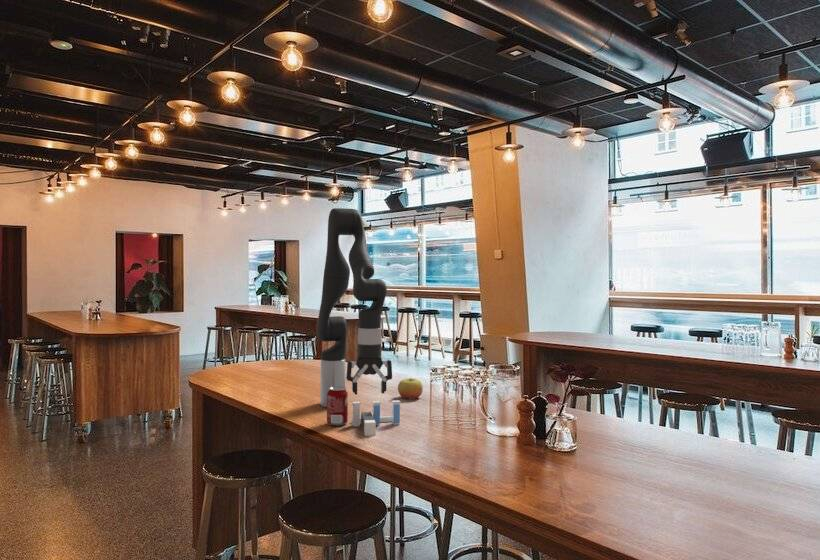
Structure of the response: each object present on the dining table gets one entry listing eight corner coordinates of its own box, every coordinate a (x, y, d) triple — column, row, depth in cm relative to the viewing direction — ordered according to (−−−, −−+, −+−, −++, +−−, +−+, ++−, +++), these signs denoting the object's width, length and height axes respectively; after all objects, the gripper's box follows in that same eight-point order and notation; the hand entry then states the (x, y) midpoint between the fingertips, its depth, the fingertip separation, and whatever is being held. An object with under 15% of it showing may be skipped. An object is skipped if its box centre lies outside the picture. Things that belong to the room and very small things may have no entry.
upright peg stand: (351, 422, 188) (351, 399, 188) (397, 420, 191) (397, 398, 191) (352, 426, 183) (353, 403, 183) (400, 424, 186) (400, 401, 186)
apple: (408, 402, 218) (409, 381, 218) (392, 397, 225) (393, 377, 225) (427, 398, 224) (427, 378, 224) (411, 394, 232) (411, 374, 231)
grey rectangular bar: (361, 424, 187) (361, 412, 186) (370, 423, 187) (370, 411, 187) (365, 435, 174) (365, 422, 174) (375, 435, 174) (375, 422, 174)
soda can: (343, 427, 182) (344, 390, 182) (323, 426, 184) (324, 389, 183) (350, 421, 189) (350, 386, 189) (330, 420, 190) (331, 385, 190)
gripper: (390, 340, 182) (389, 390, 183) (346, 341, 180) (345, 391, 180) (393, 343, 175) (393, 395, 175) (347, 344, 172) (347, 396, 173)
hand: (369, 393), depth 178 cm, fingers open, 8 cm apart
